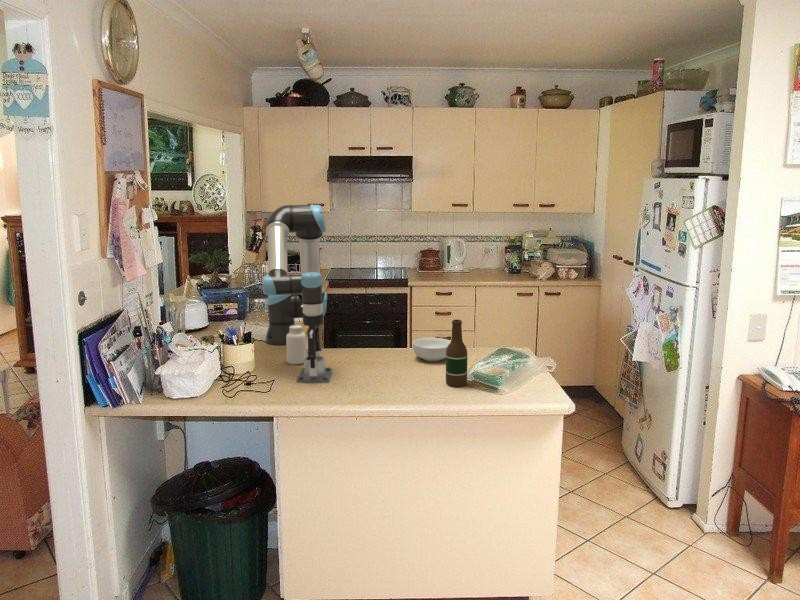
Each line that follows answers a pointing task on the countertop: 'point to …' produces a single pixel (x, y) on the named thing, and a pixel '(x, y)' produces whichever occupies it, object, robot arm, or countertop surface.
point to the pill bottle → (296, 345)
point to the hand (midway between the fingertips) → (315, 371)
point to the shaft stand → (315, 379)
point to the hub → (319, 366)
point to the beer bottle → (456, 358)
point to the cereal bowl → (431, 348)
